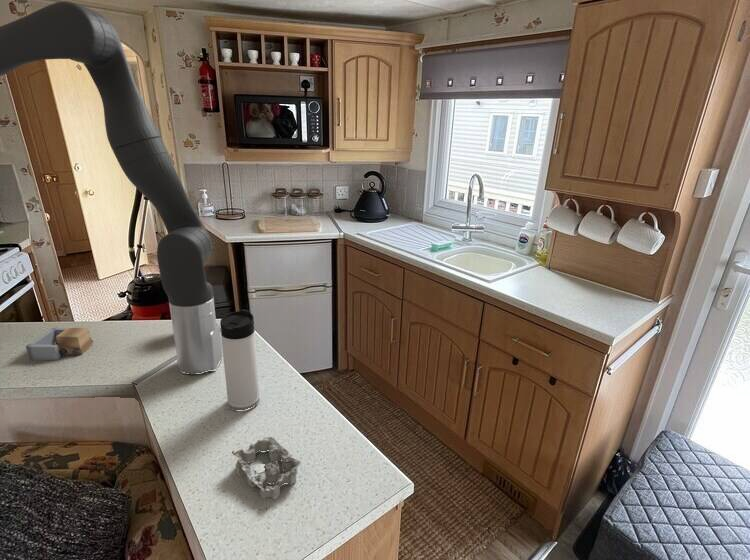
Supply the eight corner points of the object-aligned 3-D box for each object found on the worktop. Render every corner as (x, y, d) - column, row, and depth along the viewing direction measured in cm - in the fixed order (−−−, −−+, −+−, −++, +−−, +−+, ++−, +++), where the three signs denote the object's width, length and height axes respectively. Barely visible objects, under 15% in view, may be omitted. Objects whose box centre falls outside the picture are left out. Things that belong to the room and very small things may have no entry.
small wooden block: (94, 344, 107) (90, 327, 105) (80, 356, 101) (76, 338, 100) (73, 344, 106) (69, 326, 105) (59, 356, 101) (54, 337, 99)
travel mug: (265, 395, 90) (260, 311, 83) (249, 415, 84) (242, 326, 77) (240, 390, 91) (232, 307, 84) (221, 408, 85) (212, 320, 78)
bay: (82, 340, 108) (79, 328, 107) (57, 359, 99) (54, 346, 98) (56, 339, 108) (53, 327, 107) (29, 359, 99) (25, 346, 98)
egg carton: (230, 469, 71) (228, 450, 70) (268, 446, 76) (267, 428, 75) (265, 507, 65) (264, 487, 63) (304, 479, 70) (303, 460, 68)
